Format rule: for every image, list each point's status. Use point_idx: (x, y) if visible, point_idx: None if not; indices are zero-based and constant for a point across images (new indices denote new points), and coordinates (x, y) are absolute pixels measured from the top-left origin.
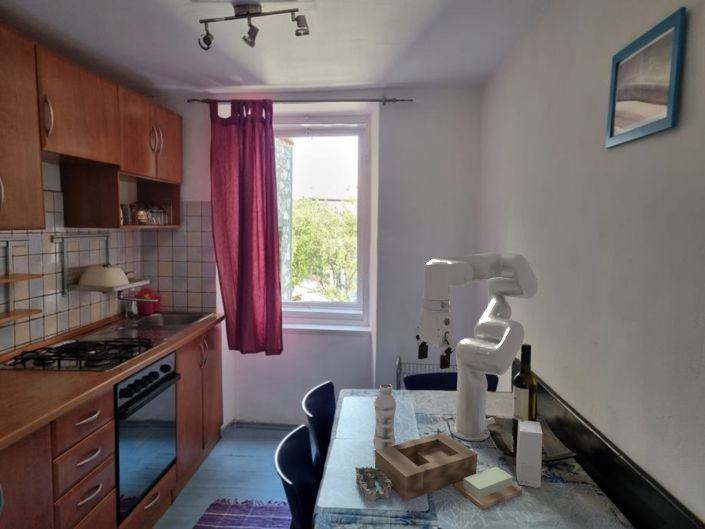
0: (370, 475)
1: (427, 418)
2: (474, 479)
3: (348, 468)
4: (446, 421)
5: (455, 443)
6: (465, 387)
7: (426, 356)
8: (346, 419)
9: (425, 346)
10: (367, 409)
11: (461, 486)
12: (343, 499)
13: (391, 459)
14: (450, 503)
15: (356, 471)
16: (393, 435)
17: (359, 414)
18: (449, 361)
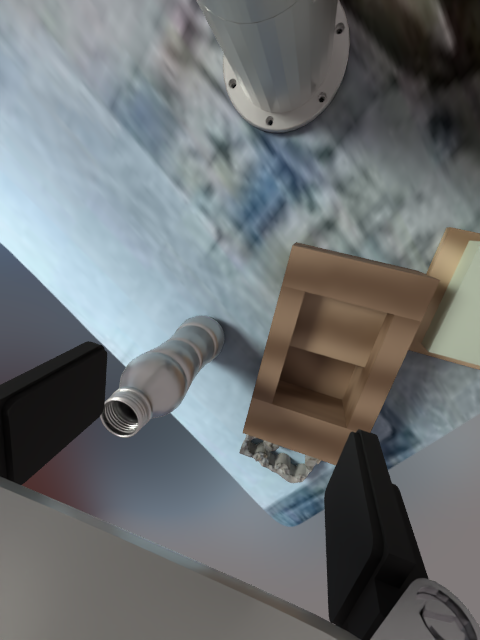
0: (271, 447)
1: (150, 107)
2: (453, 339)
3: (213, 421)
4: (194, 66)
5: (357, 275)
6: (262, 8)
7: (97, 364)
8: (65, 291)
9: (14, 436)
10: (42, 213)
11: (417, 345)
12: (272, 483)
13: (289, 439)
14: (417, 391)
15: (247, 455)
16: (211, 341)
17: (57, 250)
18: (407, 518)
